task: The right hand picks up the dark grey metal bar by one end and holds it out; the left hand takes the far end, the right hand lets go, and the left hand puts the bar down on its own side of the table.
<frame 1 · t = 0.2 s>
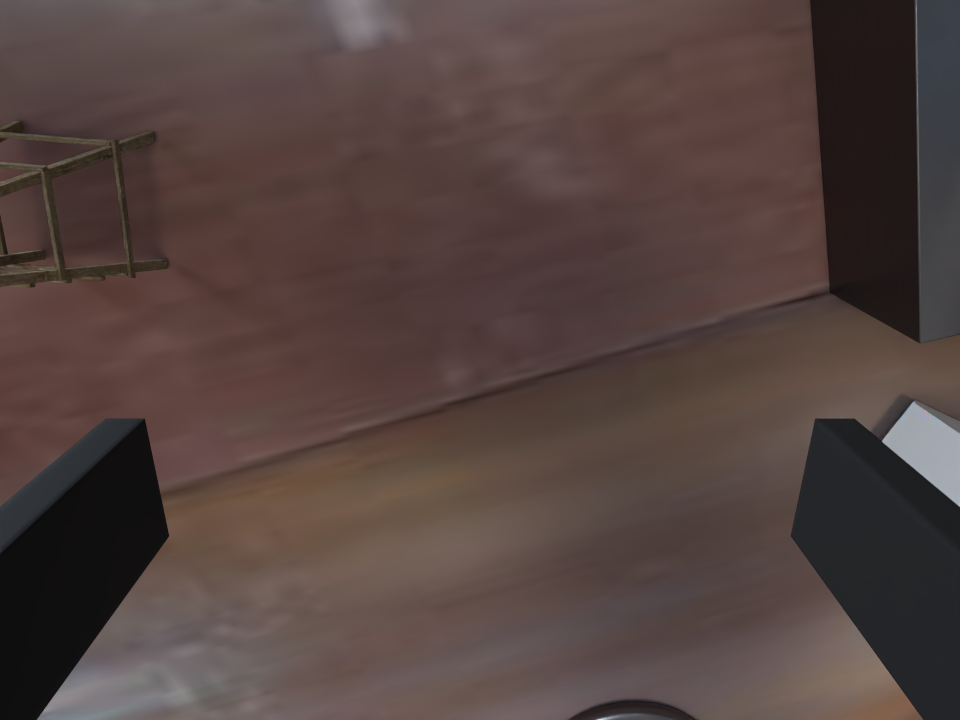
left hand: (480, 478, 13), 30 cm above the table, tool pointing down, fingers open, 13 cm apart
electronic device: (937, 464, 47), on the table
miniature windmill: (96, 198, 40), on the table
bar: (864, 95, 38), on the table
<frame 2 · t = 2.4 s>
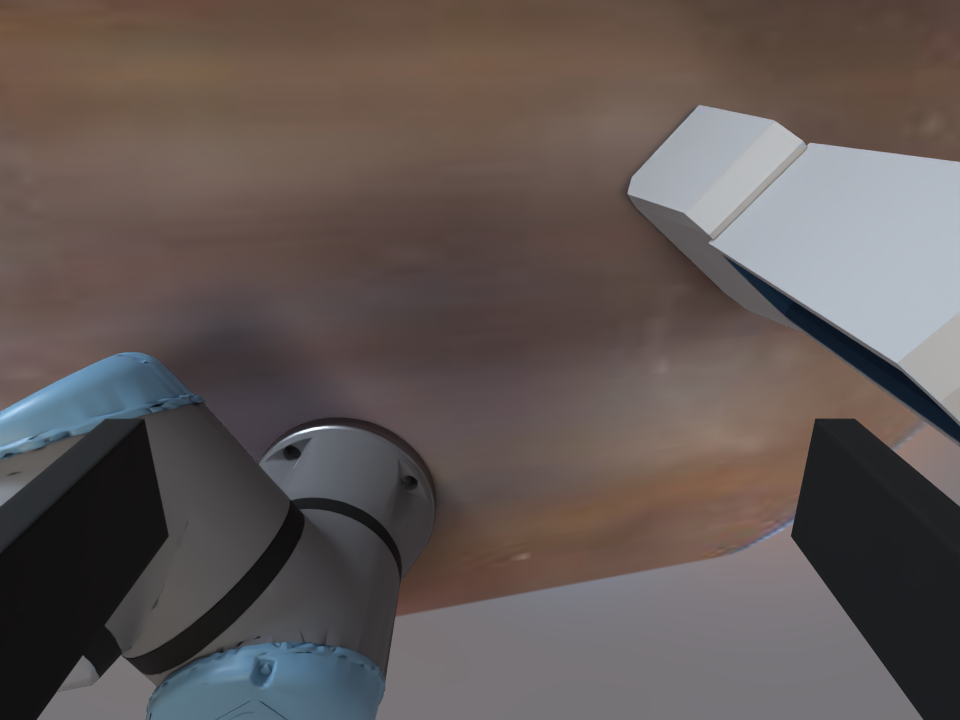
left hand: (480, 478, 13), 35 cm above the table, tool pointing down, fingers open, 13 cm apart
electronic device: (715, 207, 46), on the table
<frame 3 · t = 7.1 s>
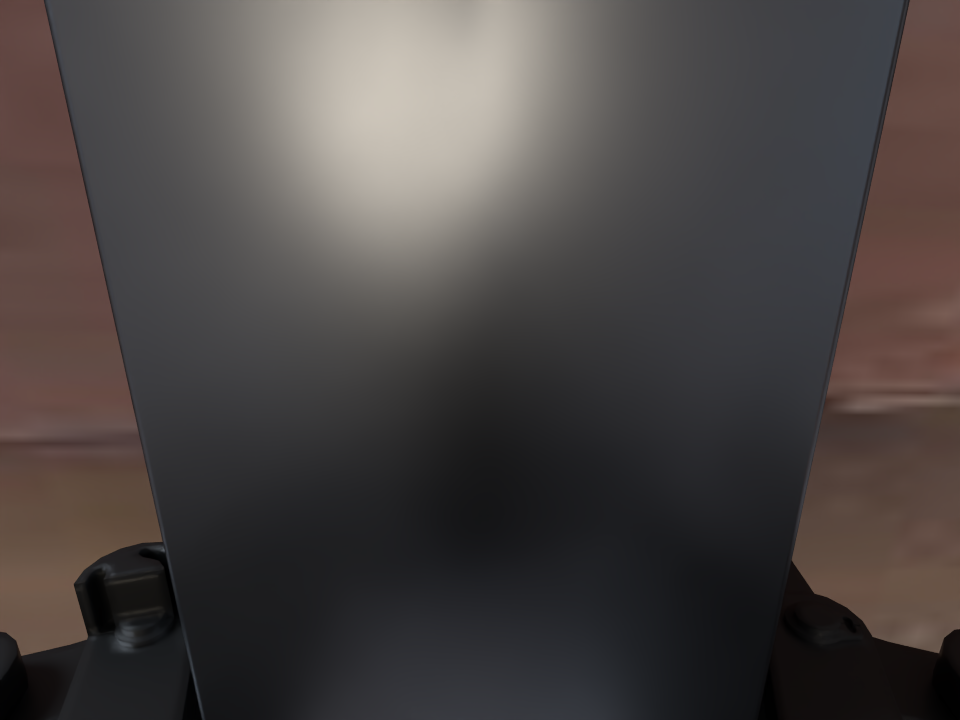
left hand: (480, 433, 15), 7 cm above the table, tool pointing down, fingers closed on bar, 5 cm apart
bar: (478, 36, 13), point 7 cm above the table, touching left hand, right hand
when the right hand's fingers open (12 cm above the table, at t = 7.9 s): bar stays where it is, held by the left hand.
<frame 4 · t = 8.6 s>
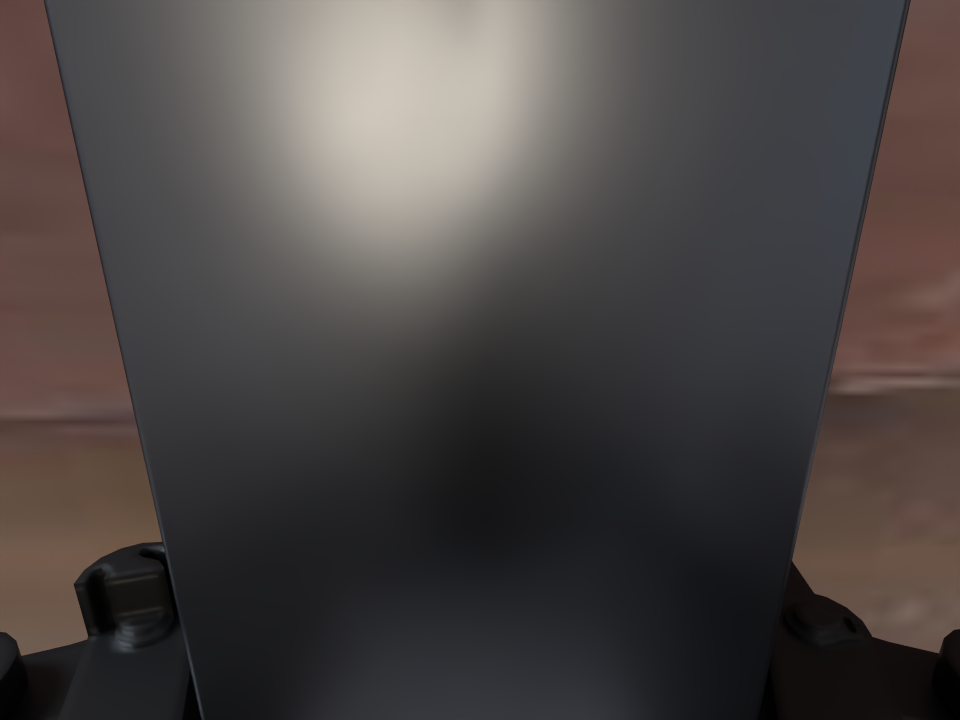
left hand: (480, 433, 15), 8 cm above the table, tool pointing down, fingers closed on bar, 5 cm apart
bar: (478, 36, 12), point 8 cm above the table, touching left hand
when the left hand's fingers open (2 cm above the table, at t = 20.9 s): bar drops 1 cm, on the table.
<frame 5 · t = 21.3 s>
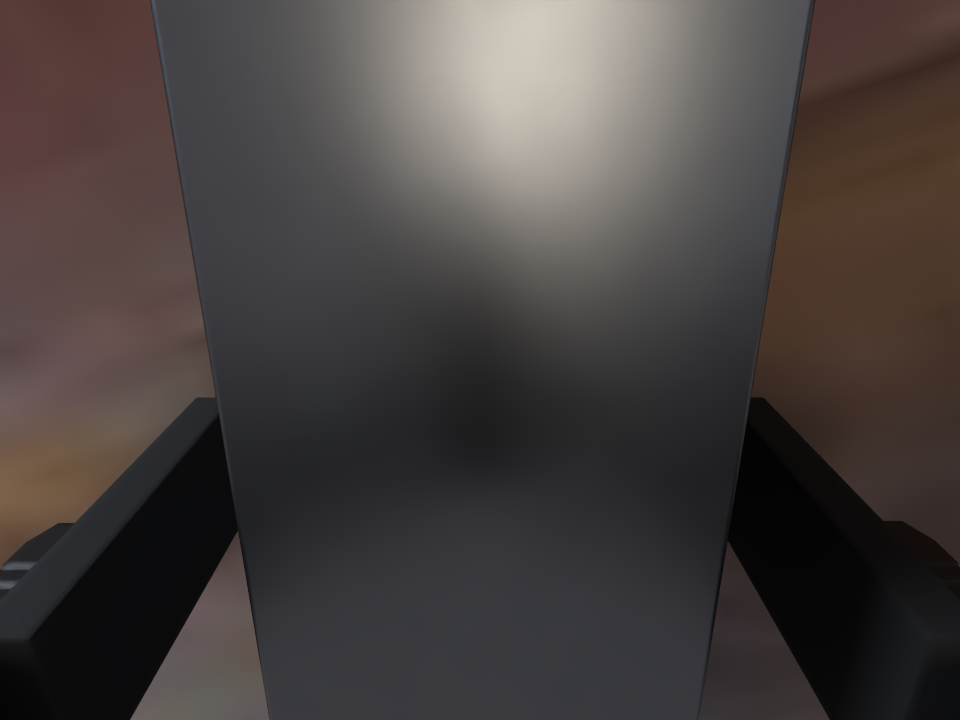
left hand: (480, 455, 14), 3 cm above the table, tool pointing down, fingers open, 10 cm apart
bar: (480, 45, 14), on the table
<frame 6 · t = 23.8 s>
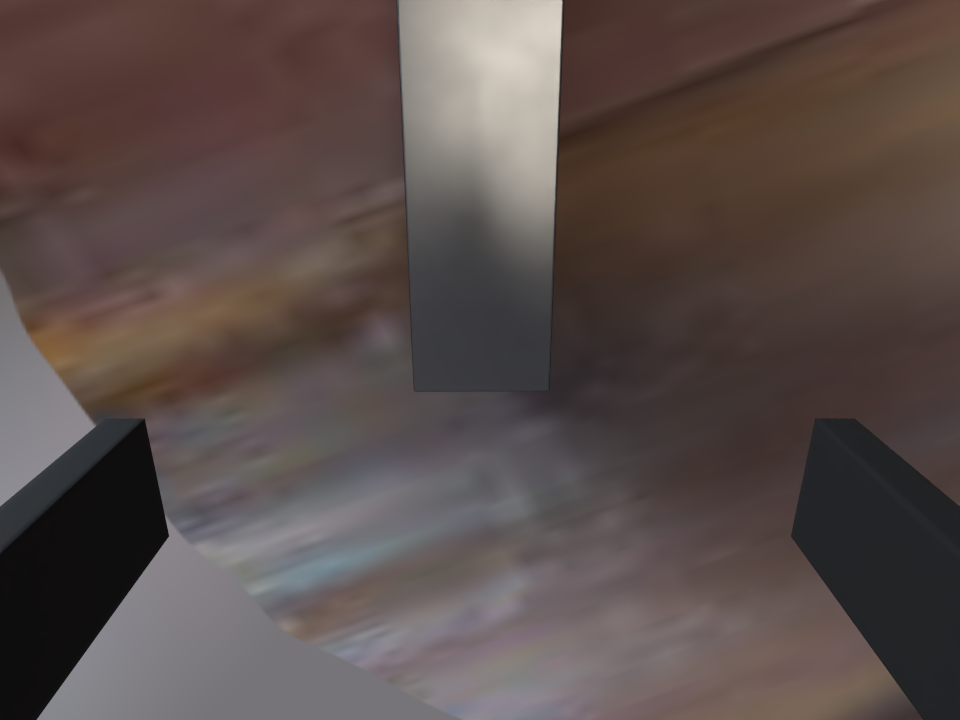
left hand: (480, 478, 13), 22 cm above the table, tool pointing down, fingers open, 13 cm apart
bar: (480, 78, 30), on the table
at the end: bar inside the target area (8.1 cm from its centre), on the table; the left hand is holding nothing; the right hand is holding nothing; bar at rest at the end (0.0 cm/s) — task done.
